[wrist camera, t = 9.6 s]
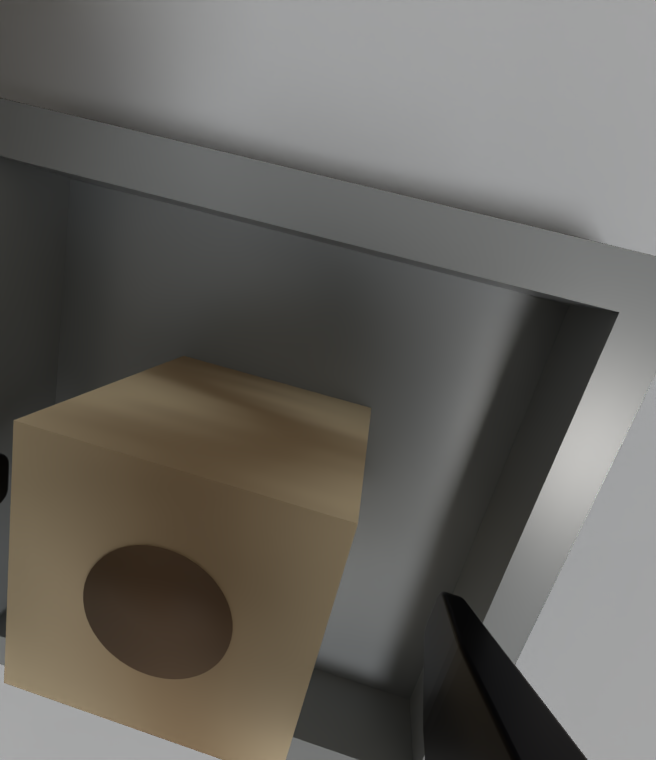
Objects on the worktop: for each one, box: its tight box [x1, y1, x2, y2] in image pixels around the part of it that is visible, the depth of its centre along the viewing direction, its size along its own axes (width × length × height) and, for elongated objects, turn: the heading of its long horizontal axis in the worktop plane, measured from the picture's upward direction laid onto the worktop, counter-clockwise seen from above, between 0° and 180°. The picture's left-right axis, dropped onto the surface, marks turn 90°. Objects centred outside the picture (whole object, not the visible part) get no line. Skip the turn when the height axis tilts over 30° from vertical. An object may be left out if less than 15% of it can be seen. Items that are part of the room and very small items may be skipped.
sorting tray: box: [0, 98, 656, 760], centre depth 10 cm, size 14×14×2 cm
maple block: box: [4, 356, 371, 760], centre depth 9 cm, size 5×5×5 cm
